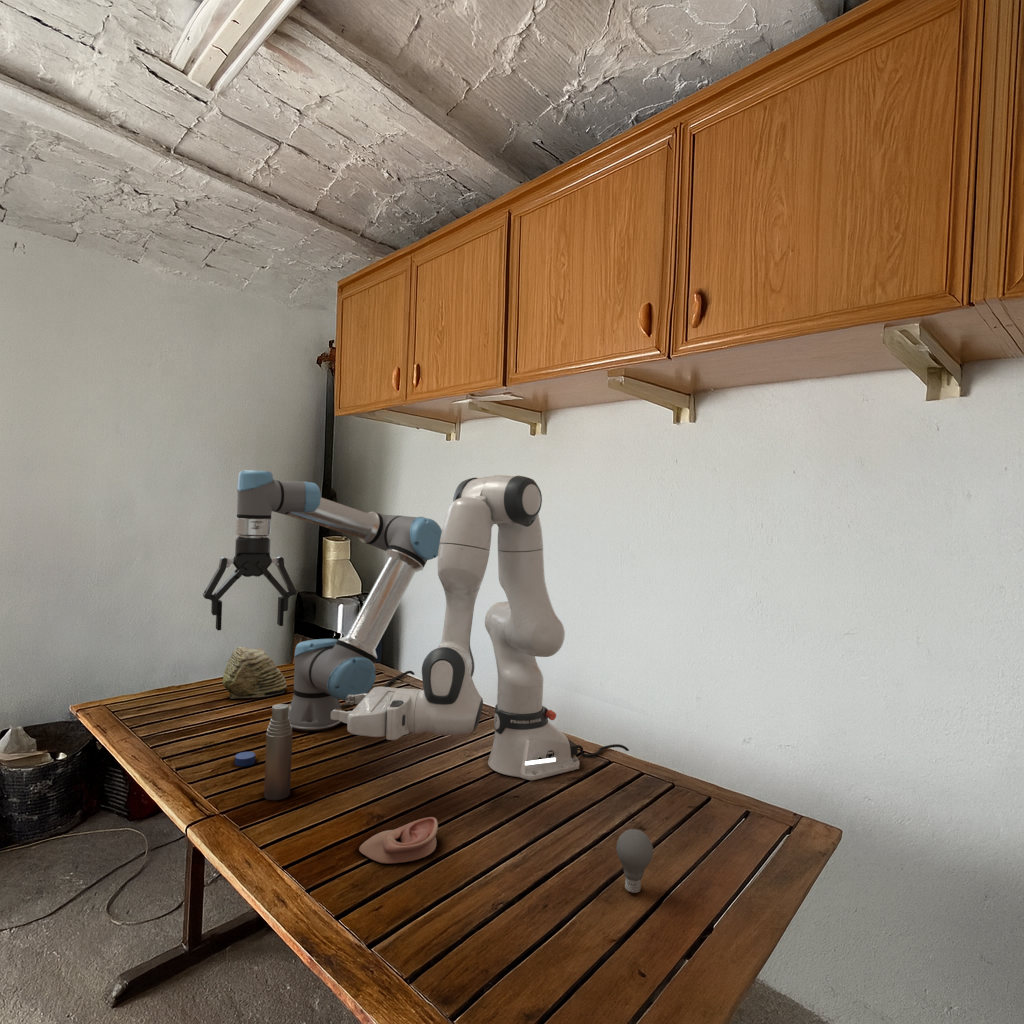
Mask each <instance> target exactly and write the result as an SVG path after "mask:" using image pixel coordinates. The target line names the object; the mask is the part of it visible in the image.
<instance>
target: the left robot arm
mask: <svg viewBox="0 0 1024 1024" xmlns="http://www.w3.org/2000/svg"><path fill="white" fill-rule="evenodd" d="M236 486H237V488H236V498H237V499H236V520H235V521H236V523H235V525H236V526H235V534H236V535H237V537H236V538H235V548H234V549H235V550H234V557H233V558H229V557H225V556H221V557H220V558H219V562H218V567H217V568H216V571H215V572H214V574H213V576H212V578H211V579H210V581H209V583H208V585H207V586H206V588H205V590H204V591H203V593H202V596H203V598H204V599H205V600H209V601H211V605H210V607H211V609H210V613H211V615H212V616H215V629H216V630H217V631H222V621H223V620H222V617H223V600H221V598H222V597H223V596H224V595H225V594H226V593H227V592H228V591H229V589H230V588H231V587H232V586H233V585H234V584H235V583H236V582H237V581H238V580H239V579H240V578H241V577H242V576H243V577H245V578H250V577H256V578H258V577H261V576H263V577H265V578H266V579H267V581H268V582H269V583H270V584H271V585H272V587H274V589H275V590H276V591H277V592H278V594H280V595H281V596H278V597H277V616H276V617H277V619H276V625H278V626H279V627H284V616H285V615H284V614H285V612H288V610H289V599H290V597H292V596H295V595H297V593H298V591H297V590H296V587H295V584H294V583H293V581H292V579H291V577H290V575H289V572H288V571H287V569H286V567H285V559H284V557H282V556H281V555H279V556H276V557H271V539H270V537H269V536H271V533H272V531H271V529H272V512H274V513H278V514H280V515H285V516H288V517H292V518H294V519H298V520H301V521H303V522H307V523H310V524H314V525H316V526H320V527H322V528H323V527H324V528H327V529H330V530H333V531H336V532H339V533H342V534H346V535H348V536H352V537H356V538H358V539H359V541H360V542H361V543H363V544H366V545H369V546H372V547H375V548H377V549H379V550H382V551H384V552H385V553H386V557H387V560H386V562H385V563H384V565H383V567H382V569H381V571H380V573H379V575H378V577H377V578H376V579H375V581H374V583H373V586H372V588H371V589H370V591H369V593H368V595H367V597H366V599H365V600H364V602H363V604H362V606H361V608H360V610H359V612H358V613H357V615H356V617H355V619H354V621H353V622H352V625H351V626H350V628H349V630H348V632H347V634H346V635H345V636H341V637H340V638H338V639H337V638H319V639H308V640H303V641H300V642H299V643H298V642H297V644H296V646H295V650H294V655H293V657H294V672H293V695H292V696H293V697H292V699H291V702H290V703H289V704H288V706H289V708H288V717H289V720H290V723H291V727H292V731H294V732H295V731H296V732H301V733H316V732H325V731H329V730H332V729H335V728H337V727H339V726H340V725H342V723H343V722H341V721H339V720H332V719H331V712H332V711H333V710H334V709H345V708H347V707H348V708H349V707H350V706H352V705H347V704H346V703H344V704H341V702H340V700H342V701H346V700H345V698H346V697H347V696H348V695H357V694H363V693H369V692H370V691H371V690H372V689H373V686H374V685H375V682H376V679H377V673H376V671H377V669H376V666H375V663H376V661H377V660H378V655H377V651H376V649H377V648H378V645H379V644H380V641H381V639H382V637H383V635H385V632H386V630H387V628H388V626H389V624H390V622H391V621H392V619H393V616H394V614H395V612H396V611H397V608H398V607H399V605H400V603H401V601H402V599H403V597H404V595H405V593H406V591H407V590H408V588H409V585H410V584H411V581H412V580H413V578H414V576H415V574H416V573H417V572H421V571H423V569H424V568H425V566H426V565H427V562H428V561H430V560H433V559H435V558H438V550H439V544H440V538H441V533H442V528H441V526H440V525H439V523H438V522H437V521H436V520H434V519H432V518H428V517H424V516H407V515H395V514H385V513H384V514H383V513H379V512H376V511H369V512H365V511H363V510H359V509H357V508H354V507H352V506H351V507H350V506H348V505H345V504H342V503H339V502H336V501H334V500H330V499H327V498H324V497H322V492H321V489H320V487H319V485H318V484H316V483H315V482H311V481H310V482H309V481H298V480H277V479H274V475H273V473H272V472H271V471H267V470H254V469H253V470H252V469H251V470H249V469H244V470H241V471H240V472H238V478H237V485H236ZM232 564H233V566H234V567H235V569H234V571H233V572H232V573H231V575H229V577H228V578H227V579H226V580H225V581H224V582H223V583H222V584H221V585H220V586H219V587H218V589H217V590H216V588H217V586H218V585H219V582H220V580H221V579H222V577H223V575H224V573H225V572H226V569H227V568H229V567H230V566H231V565H232ZM272 564H273V566H275V567H276V568H277V570H278V572H279V574H280V577H281V578H282V581H283V582H284V584H285V587H286V589H287V591H286V589H285V588H284V587H283V586H282V585H281V583H280V582H279V581H278V579H276V577H274V575H273V574H272V573H271V571H269V567H270V566H271V565H272ZM215 590H216V591H215ZM409 674H411V675H412V676H414V675H416V674H415V672H414V671H412V670H407V671H404V672H403V673H400V674H398V675H396V676H395V677H393V678H392V679H390V680H388V681H387V682H386V683H384V685H383V686H382V687H389V686H390V685H391V684H392V683H393V682H395V681H396V680H399V679H401V678H403V677H405V676H407V675H409Z"/></svg>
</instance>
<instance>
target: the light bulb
mask: <svg viewBox="0 0 1024 1024" xmlns="http://www.w3.org/2000/svg"><path fill="white" fill-rule="evenodd" d="M615 849H616V854H617V857H618V859H619V861H620V863H621V865H622V867H623V873H624V874H623V875H624V876H625V878H624V888H625V890H627V891H628V892H630V893H634V894H635V893H639V892H640V891H641V889H642V887H641V886H642V879H643V877H644V875H645V871H646V868H647V867H648V866H649V864H650V863H651V861H652V859H653V855H654V847H653V843H652V841H651V838H649V836H648V835H647V834H646V833H645V832H643V831H642V830H641V829H636V828H629V829H627V830H625V831H623V832H622V833H621V834H620V835H619V837H618V839H617V841H616V847H615Z"/></svg>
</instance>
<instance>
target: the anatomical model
mask: <svg viewBox="0 0 1024 1024" xmlns="http://www.w3.org/2000/svg"><path fill="white" fill-rule="evenodd" d="M438 830H439V822H438V819H437V818H436V817H434V816H428V817H423V818H419V819H417V820H414V821H410V822H409V823H407V824H404V825H401V826H398V827H397V828H395V829H388V830H383V831H381V832H378V833H376V834H374V835H372V836H371V837H369V838H368V839H366V840H365V841H364V842H363V843H362V844H361V845H360V846H359V848H358V850H359V852H360V853H361V854H362V855H364V857H366V858H368V859H369V860H372V861H374V862H377V863H380V864H399V863H400V864H401V863H409V862H413V861H417V860H420V859H422V858H426V857H427V856H429V855H431V854H432V853H433V852H435V850H436V847H437V837H436V836H437V834H438Z"/></svg>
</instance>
